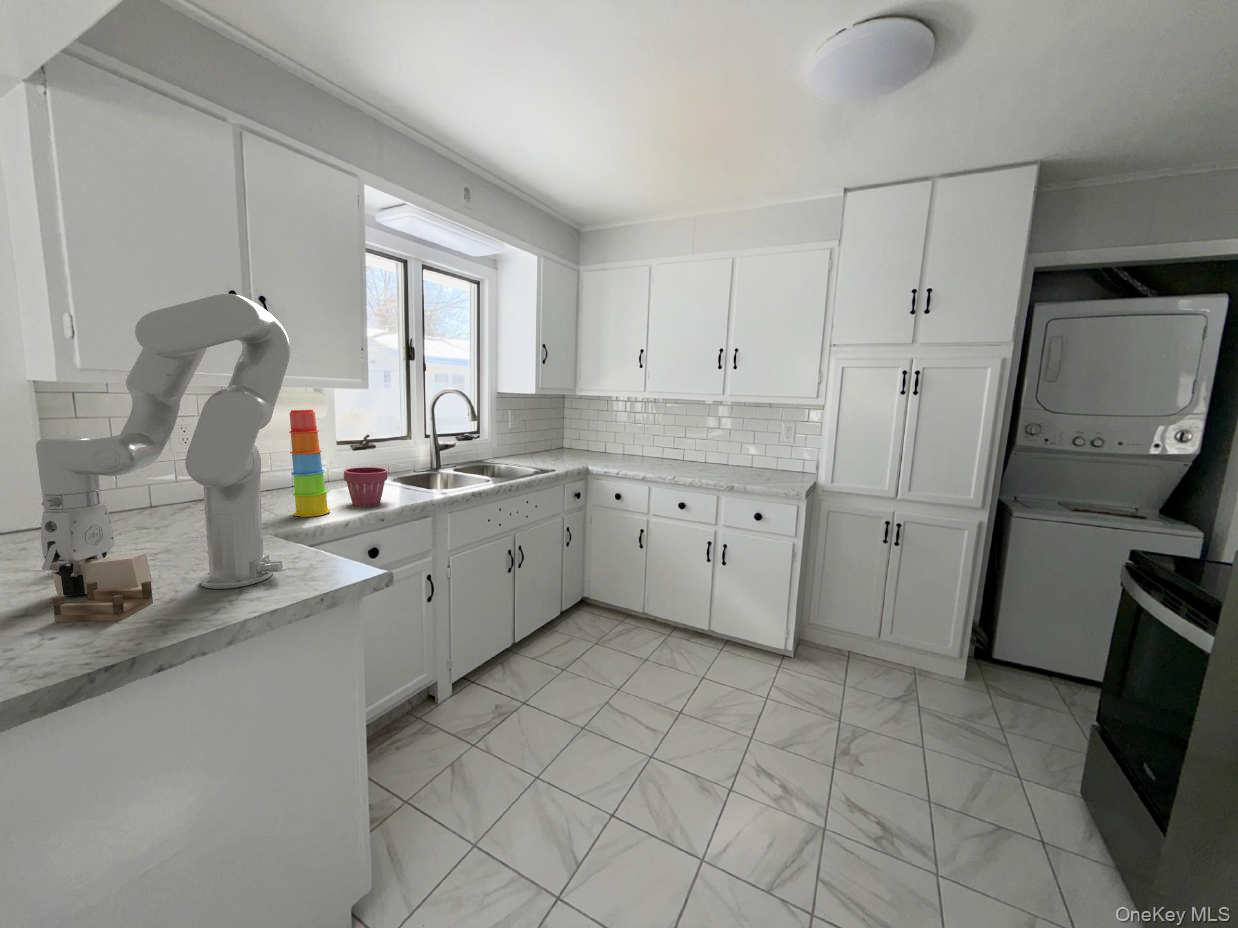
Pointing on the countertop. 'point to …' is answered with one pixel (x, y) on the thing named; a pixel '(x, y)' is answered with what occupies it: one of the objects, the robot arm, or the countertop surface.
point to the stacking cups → (307, 465)
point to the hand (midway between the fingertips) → (84, 589)
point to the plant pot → (365, 485)
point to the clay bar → (111, 572)
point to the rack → (104, 604)
